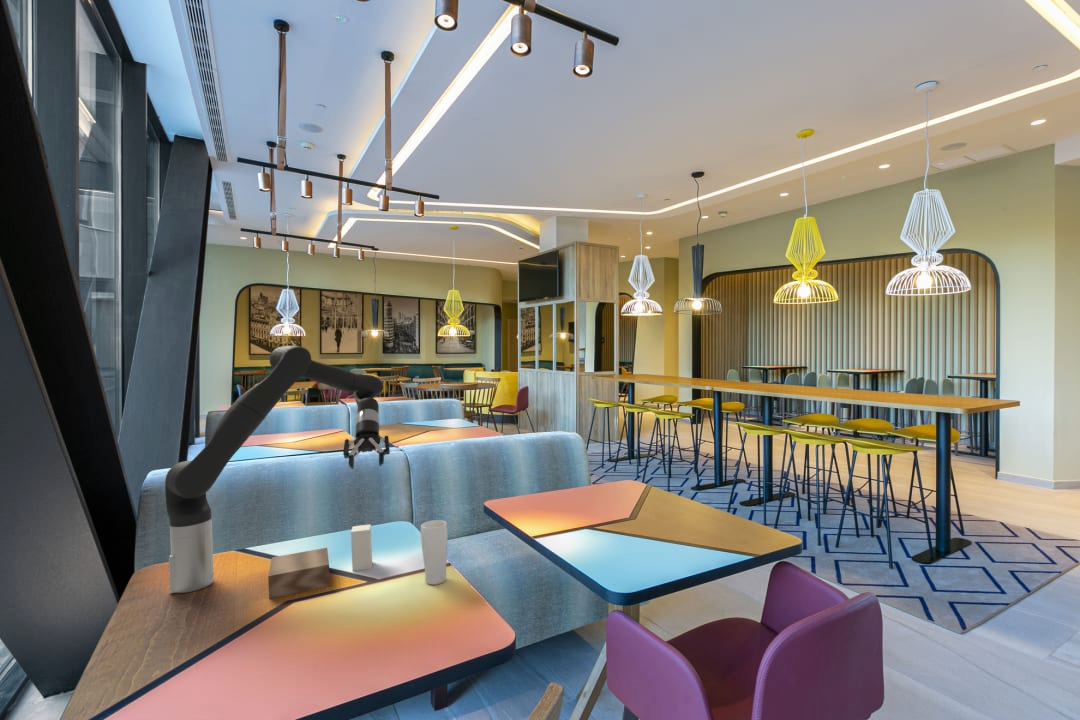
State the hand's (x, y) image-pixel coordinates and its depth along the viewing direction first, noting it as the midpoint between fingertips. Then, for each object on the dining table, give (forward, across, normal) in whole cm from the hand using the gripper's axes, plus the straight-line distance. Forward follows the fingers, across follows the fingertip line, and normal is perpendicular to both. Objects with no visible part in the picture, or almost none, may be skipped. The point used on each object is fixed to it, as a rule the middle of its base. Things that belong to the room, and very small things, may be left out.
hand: (366, 466), depth 159 cm
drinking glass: (+42, +19, -7) cm, 47 cm away
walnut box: (+34, -16, +2) cm, 38 cm away
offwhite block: (+30, -1, +5) cm, 31 cm away
